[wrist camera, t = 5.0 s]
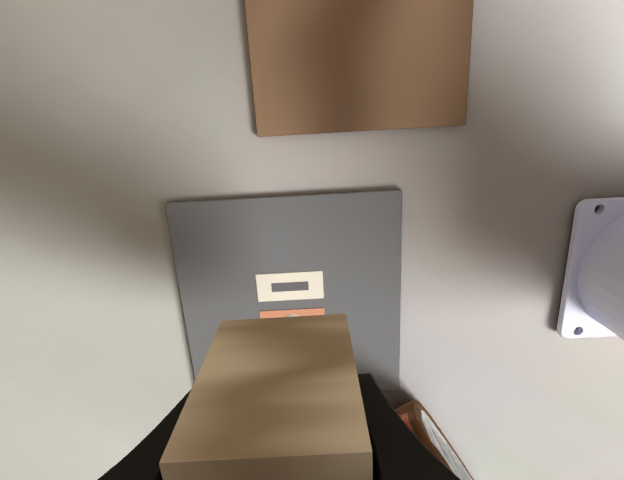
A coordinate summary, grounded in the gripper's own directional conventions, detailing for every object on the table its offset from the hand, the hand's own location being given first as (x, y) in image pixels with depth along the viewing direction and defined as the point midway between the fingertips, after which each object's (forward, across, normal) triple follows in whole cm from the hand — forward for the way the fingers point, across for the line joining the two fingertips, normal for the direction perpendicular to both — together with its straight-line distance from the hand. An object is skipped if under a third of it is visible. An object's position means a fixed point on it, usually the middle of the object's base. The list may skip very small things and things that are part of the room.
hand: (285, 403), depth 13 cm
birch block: (+2, 0, 0) cm, 2 cm away
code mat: (+9, 0, +1) cm, 9 cm away
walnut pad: (+9, -4, -13) cm, 16 cm away
